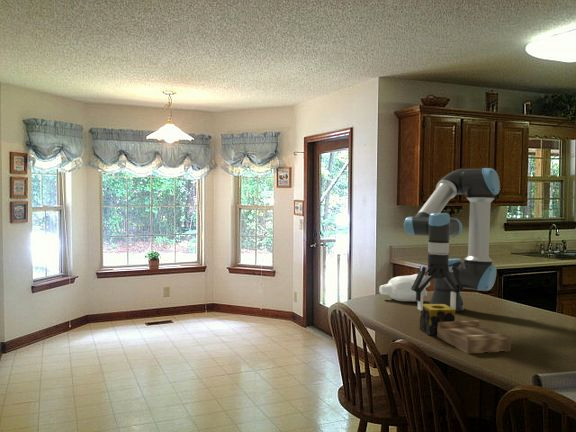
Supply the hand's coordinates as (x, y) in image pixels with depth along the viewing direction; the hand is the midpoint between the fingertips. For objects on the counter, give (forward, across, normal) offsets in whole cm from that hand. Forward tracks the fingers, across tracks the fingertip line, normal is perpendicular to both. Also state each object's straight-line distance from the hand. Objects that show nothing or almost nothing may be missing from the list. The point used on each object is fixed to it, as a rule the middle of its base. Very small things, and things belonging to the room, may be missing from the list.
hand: (436, 309), depth 188 cm
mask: (+8, -13, -57) cm, 59 cm away
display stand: (+9, -5, +16) cm, 19 cm away
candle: (+9, 0, 0) cm, 9 cm away
